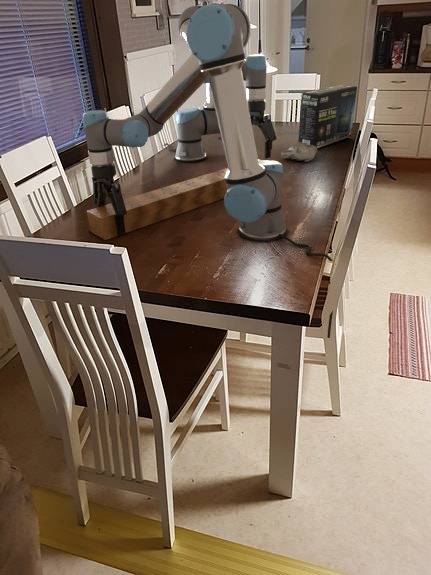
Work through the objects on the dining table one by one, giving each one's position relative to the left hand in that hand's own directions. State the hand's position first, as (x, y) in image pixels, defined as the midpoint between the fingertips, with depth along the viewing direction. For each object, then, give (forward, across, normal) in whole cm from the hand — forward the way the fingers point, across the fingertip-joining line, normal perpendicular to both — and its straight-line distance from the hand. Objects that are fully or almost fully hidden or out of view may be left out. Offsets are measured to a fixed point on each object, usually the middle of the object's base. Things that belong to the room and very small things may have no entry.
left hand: (255, 155), depth 188 cm
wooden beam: (+11, 0, +35) cm, 36 cm away
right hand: (+11, 0, +69) cm, 70 cm away
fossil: (+11, +9, -40) cm, 43 cm away
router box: (+11, +17, -71) cm, 74 cm away
